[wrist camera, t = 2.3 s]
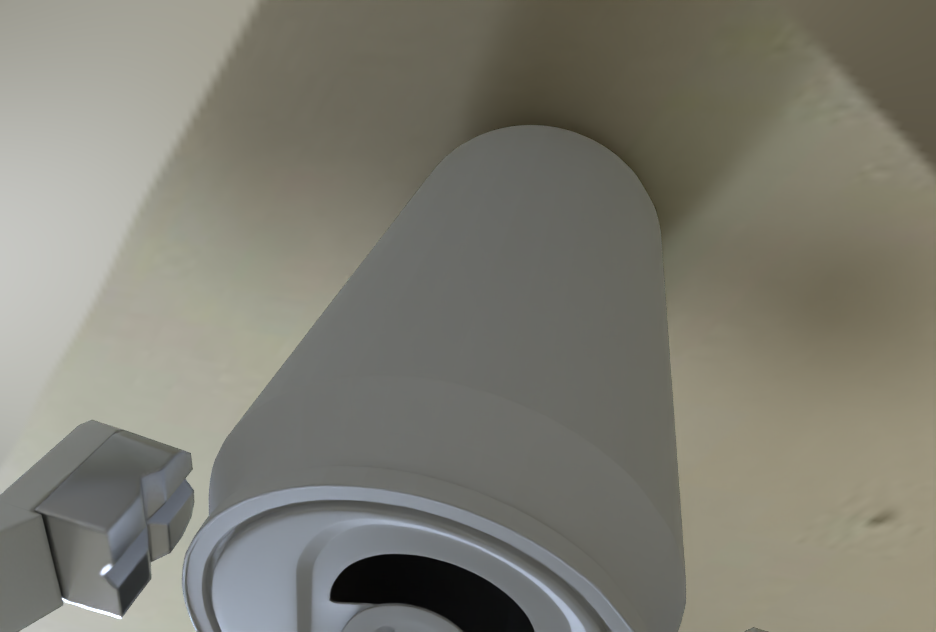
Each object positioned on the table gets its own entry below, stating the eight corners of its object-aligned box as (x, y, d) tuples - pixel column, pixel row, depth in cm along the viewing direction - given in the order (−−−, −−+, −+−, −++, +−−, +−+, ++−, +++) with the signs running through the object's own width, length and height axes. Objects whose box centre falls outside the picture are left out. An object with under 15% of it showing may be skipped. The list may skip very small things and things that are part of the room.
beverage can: (713, 193, 16) (842, 668, 6) (580, 373, 20) (522, 861, 10) (479, 67, 16) (200, 348, 6) (386, 274, 19) (115, 672, 9)
